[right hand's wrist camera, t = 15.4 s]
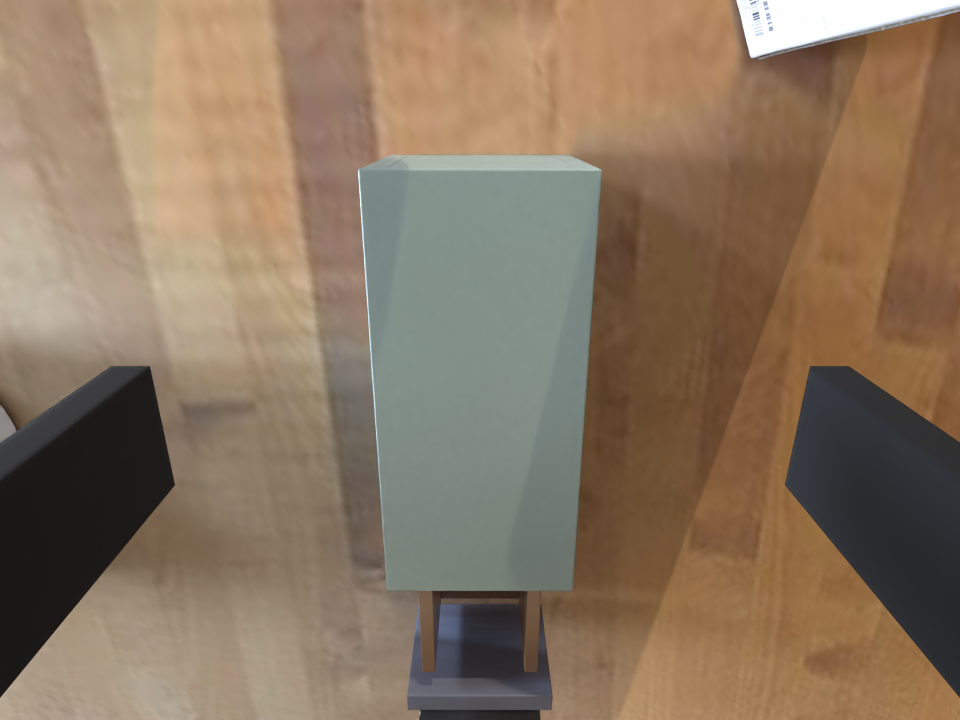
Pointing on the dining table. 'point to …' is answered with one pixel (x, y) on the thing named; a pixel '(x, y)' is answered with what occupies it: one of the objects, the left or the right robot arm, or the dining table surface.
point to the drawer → (479, 658)
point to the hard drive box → (827, 20)
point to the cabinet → (479, 363)
